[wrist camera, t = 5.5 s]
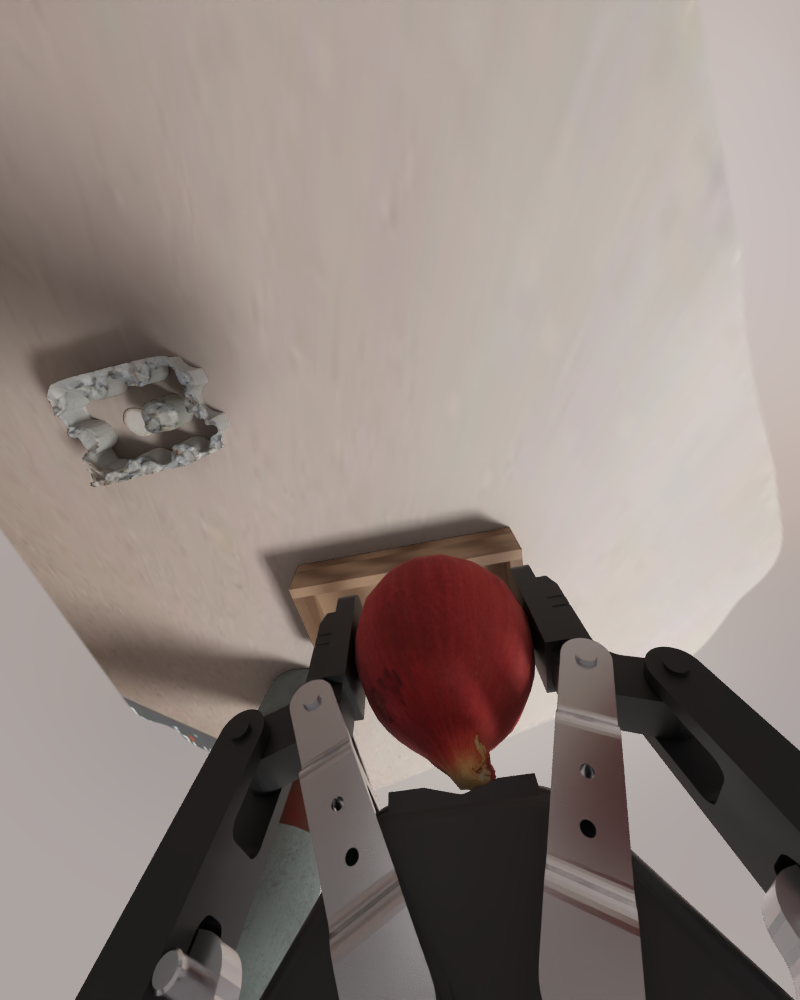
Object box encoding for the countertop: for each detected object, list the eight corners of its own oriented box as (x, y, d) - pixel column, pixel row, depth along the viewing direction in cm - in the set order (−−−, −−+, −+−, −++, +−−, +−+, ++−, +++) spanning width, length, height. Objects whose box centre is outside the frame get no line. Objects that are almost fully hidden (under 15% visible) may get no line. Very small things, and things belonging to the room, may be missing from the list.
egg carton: (125, 472, 30) (86, 492, 26) (69, 380, 27) (17, 390, 23) (243, 444, 29) (220, 462, 25) (200, 346, 26) (167, 350, 22)
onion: (413, 641, 17) (429, 870, 10) (335, 563, 15) (283, 781, 8) (522, 583, 16) (630, 802, 9) (452, 488, 14) (519, 672, 6)
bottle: (260, 707, 43) (37, 1338, 16) (273, 656, 39) (12, 1370, 13) (336, 722, 45) (245, 1325, 18) (355, 674, 41) (278, 1350, 14)
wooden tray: (331, 646, 39) (326, 674, 36) (298, 565, 34) (288, 590, 31) (517, 616, 37) (528, 643, 34) (509, 527, 32) (521, 549, 29)
